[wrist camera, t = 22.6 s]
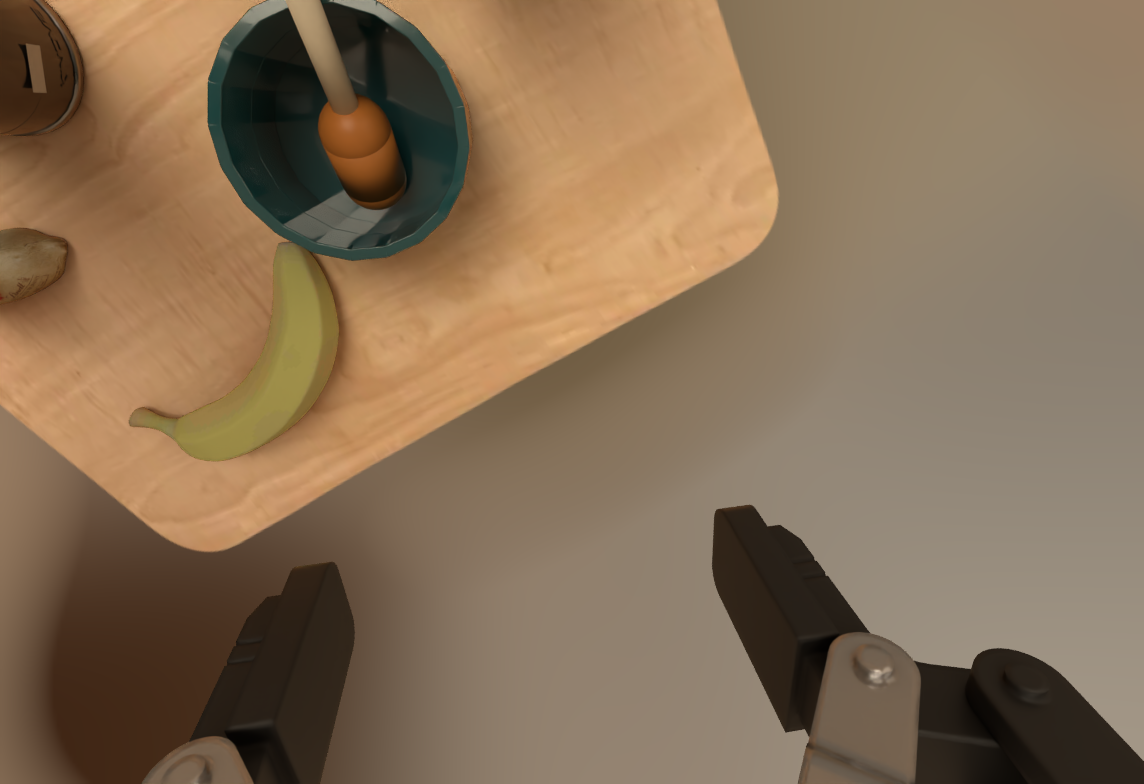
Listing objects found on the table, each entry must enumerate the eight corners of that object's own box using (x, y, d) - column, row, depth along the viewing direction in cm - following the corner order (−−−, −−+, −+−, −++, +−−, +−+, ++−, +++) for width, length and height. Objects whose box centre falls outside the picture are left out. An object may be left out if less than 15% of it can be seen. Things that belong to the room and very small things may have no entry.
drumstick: (211, -55, 25) (219, -117, 27) (351, 226, 42) (351, 177, 44) (317, -62, 26) (318, -123, 27) (414, 220, 43) (411, 172, 44)
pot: (298, 238, 45) (251, 270, 36) (241, 22, 39) (167, -4, 30) (483, 221, 46) (483, 248, 37) (456, 9, 40) (448, -20, 31)
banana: (363, 413, 44) (141, 495, 47) (391, 394, 49) (190, 469, 52) (279, 234, 41) (49, 334, 44) (318, 235, 46) (111, 324, 50)
